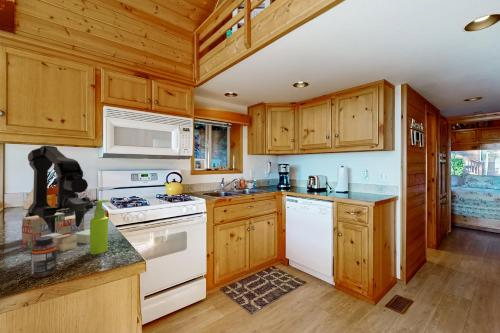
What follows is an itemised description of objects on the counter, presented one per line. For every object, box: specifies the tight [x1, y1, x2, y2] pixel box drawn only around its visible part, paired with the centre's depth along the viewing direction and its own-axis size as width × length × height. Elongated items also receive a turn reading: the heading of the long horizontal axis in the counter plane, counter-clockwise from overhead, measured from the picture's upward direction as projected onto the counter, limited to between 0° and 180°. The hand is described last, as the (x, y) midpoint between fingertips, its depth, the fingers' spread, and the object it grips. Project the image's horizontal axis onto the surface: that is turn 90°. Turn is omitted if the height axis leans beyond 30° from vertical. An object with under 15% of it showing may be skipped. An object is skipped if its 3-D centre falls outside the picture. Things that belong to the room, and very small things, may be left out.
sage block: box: [74, 228, 90, 245], centre depth 104 cm, size 8×8×4 cm
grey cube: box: [40, 233, 63, 243], centre depth 94 cm, size 5×5×5 cm
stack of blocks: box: [21, 212, 85, 250], centre depth 103 cm, size 21×6×12 cm, turn 163°
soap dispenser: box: [89, 199, 111, 255], centre depth 91 cm, size 6×7×20 cm
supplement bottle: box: [30, 236, 58, 279], centre depth 71 cm, size 6×6×11 cm
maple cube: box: [55, 234, 78, 252], centre depth 93 cm, size 5×5×5 cm
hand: (66, 229), depth 93 cm, fingers open, 9 cm apart
